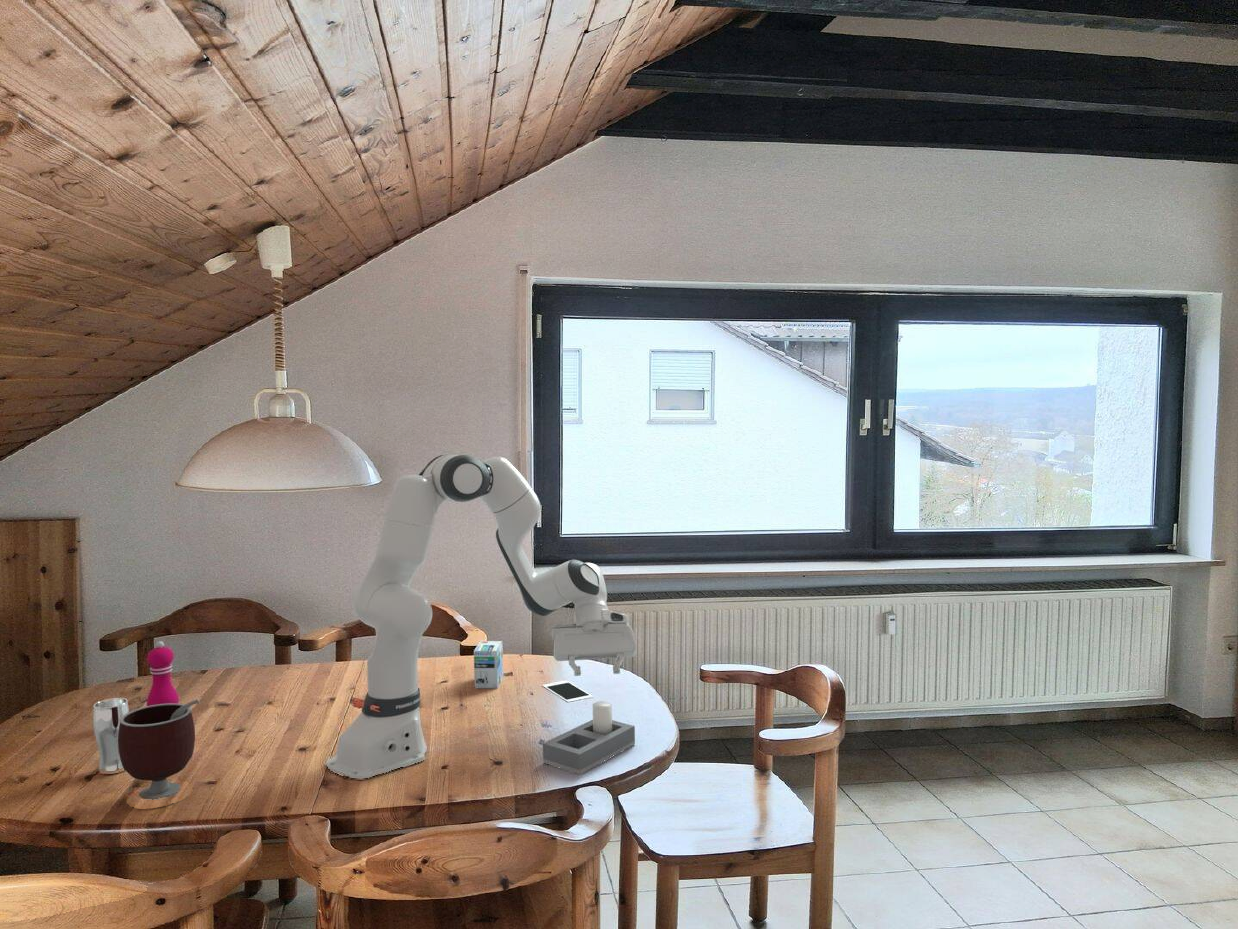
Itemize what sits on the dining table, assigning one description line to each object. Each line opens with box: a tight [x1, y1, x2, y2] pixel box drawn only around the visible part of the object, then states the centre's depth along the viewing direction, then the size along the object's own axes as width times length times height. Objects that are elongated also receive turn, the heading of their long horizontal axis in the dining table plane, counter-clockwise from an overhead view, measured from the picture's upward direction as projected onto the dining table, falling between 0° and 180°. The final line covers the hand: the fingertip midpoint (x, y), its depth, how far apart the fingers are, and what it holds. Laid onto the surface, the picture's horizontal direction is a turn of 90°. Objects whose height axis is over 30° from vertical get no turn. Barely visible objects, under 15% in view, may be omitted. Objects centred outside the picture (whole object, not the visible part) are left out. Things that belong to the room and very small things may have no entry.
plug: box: [592, 700, 613, 735], centre depth 204 cm, size 4×4×9 cm
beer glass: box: [92, 697, 130, 772], centre depth 194 cm, size 7×7×15 cm
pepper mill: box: [146, 640, 180, 706], centre depth 225 cm, size 7×7×20 cm
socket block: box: [542, 719, 636, 775], centre depth 200 cm, size 20×10×4 cm, turn 143°
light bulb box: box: [473, 640, 504, 689], centre depth 251 cm, size 11×7×11 cm, turn 179°
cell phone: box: [541, 680, 594, 703], centre depth 244 cm, size 8×16×1 cm, turn 30°
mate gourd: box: [118, 699, 199, 800], centre depth 181 cm, size 16×14×20 cm
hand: (597, 673), depth 212 cm, fingers open, 8 cm apart
